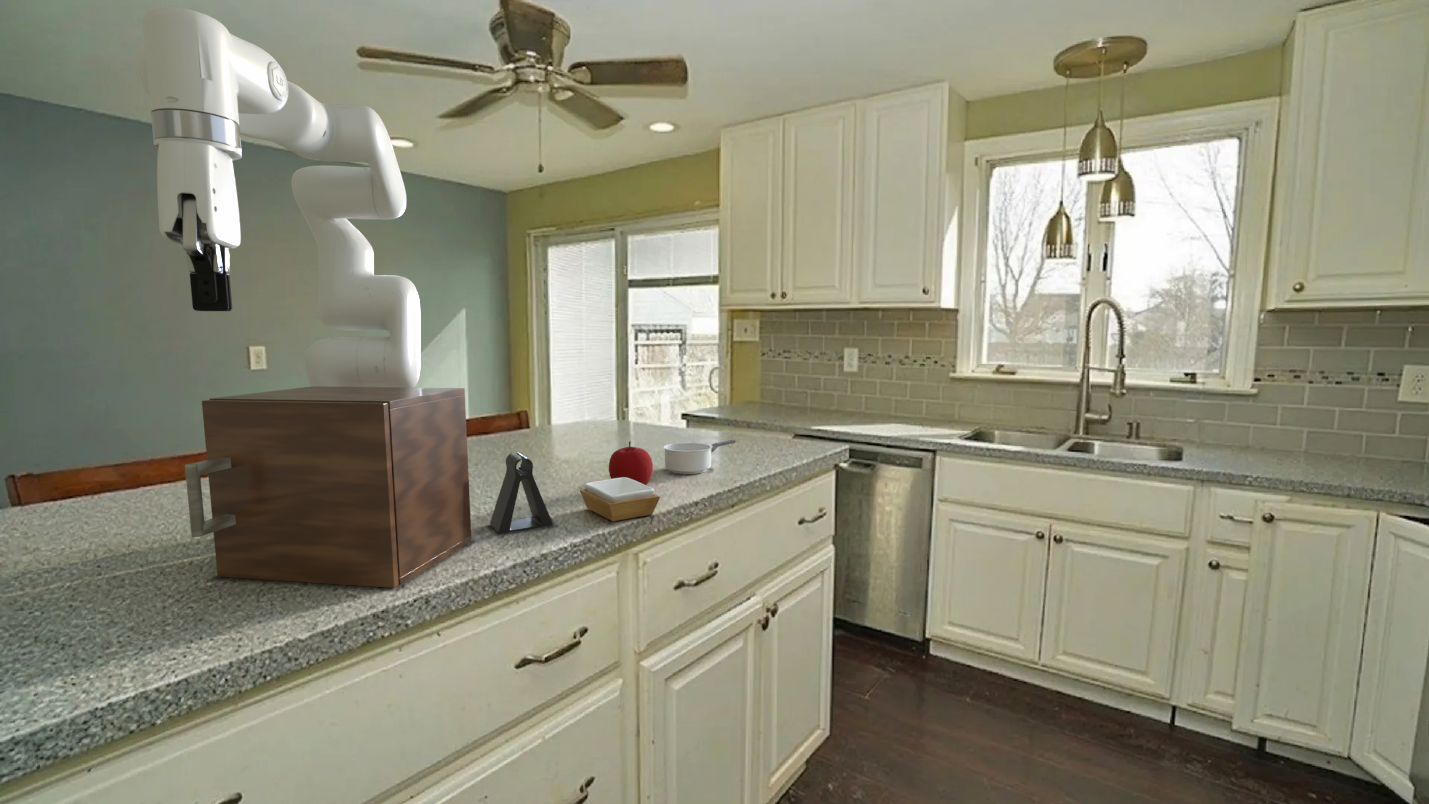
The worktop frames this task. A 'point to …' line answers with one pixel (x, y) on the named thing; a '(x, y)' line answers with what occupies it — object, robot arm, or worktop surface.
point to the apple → (631, 464)
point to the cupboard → (414, 465)
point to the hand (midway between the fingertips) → (213, 310)
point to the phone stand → (509, 494)
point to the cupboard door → (298, 491)
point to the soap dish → (619, 498)
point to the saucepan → (690, 456)
